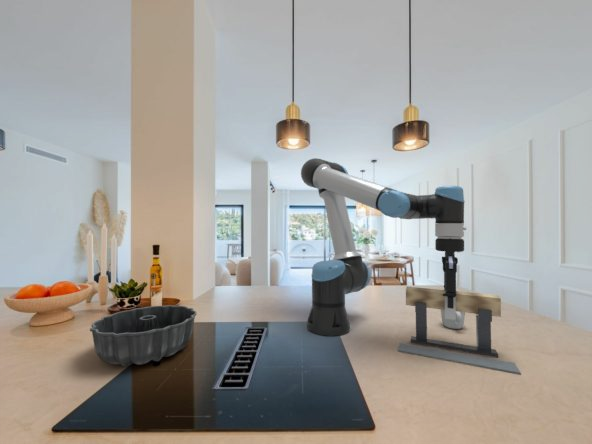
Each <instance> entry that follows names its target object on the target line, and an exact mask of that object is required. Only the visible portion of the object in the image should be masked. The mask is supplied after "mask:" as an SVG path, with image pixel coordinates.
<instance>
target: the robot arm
mask: <svg viewBox="0 0 592 444" xmlns="http://www.w3.org/2000/svg"><path fill="white" fill-rule="evenodd" d="M300 176H301V180H302V181H303V183H304V185H306V186H308V187H311V188H315V189H317V191H318V196H319V197H320V198H321V199H323V202H324V207H325V212H326V217H327V221H328V227H329V232H330V237H331V241H332V242H331V243H332V247H333V251H334V252H333V253H334V257H333V258H332V259H328V260H321V261H318V262H316V263H315V264H313V266H312V271H311V272H312V273H311V308H310V311H309V314H308V317H307V321H306V328H307V330H308V331H309V332H311V333H314V334H316V335H319V336H330V337H334V336H342V335H346V334H347V333H349V332H350V331H351V321H350V318H349V315H348V312H347V309H346V295H348V294H351V293H358V292H360V291H362V290H363V289H365V288H366V287H368V286H369V283H370V282H371V277H372V275H371V270H370V267H369V266H368V264H366V262H365V261H363V257H362V254H361V253H359V252H357V250H356V243H355V239H354V235H353V234H354V233H353V230H352V226H351V221H350V217H349V212H348V207H347V202H346V198H347V199H350V200H352V201H355V202H357V203H359V204H361V205H365V206H366V207H370V208H372V209H374V210H377V211H378V212H380V213H381V214H383V216H386V217H390V218H393V219H394V218H395V219H397V218H398V219H403V220H414V219H415V220H416V219H417V220H418V219H419V220H420V219H435V223H434V224H435V227H434V228H435V229H434V235H435V237H436V239H435V240H434V241H435V247H434V249H435V250H436V251H439V252H444V256H441V262H442V270H443V271H442V272H443V277H444V278H443V284H444V285H443V288H444V289H443V290H445V291H446V292H445V294H443V296H445V310H444V314H445V319H452V320H456V297H455V296H456V291H457V272H458V267H457V266H458V265H457V264H458V263H459V261H458V258H457V257H456V256H455V253H462V252H464V251H465V239H463V238H464V237H465V231H466V230H467V227H466V226H465V224H464V223H465V221H464V220H465V197H464V194H465V193H464V188H463V187H462V186H459V185H443V186H438V187H436V188H435V191H434V193H432V194H425V195H424V194H423V195H415V194H412V193H411V194H410V193H407V192H403V191H399V190H397V189H393V188H391V187H387V186H384V185H382V184H378V183H375V182H372V181H369V180H367V179H363V178H361V177H358V176H355V175H351V174H349V173H348V170H347V169H346V168H345V167H344V166H343V165H341V164H339V163H337V162H331V161H329V160H325V159H322V158H315V157H314V158H311V159H309V160H306V161H305V163H304V164H303V165H302V167H301V169H300Z"/></svg>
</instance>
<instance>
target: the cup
mask: <svg viewBox="0 0 592 444" xmlns="http://www.w3.org/2000/svg"><path fill="white" fill-rule="evenodd" d="M440 315H441V321H442V325H443V326H444V327H446V328H448V329H453V330H462V328H463V327H464V325H465V315H466V312H458V311H456V320H452V319H445V314H444V310H442V309H440Z"/></svg>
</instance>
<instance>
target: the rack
mask: <svg viewBox="0 0 592 444" xmlns="http://www.w3.org/2000/svg"><path fill="white" fill-rule="evenodd" d="M414 308H415V309H414V310H415V335H414V336H413V335H411V337H410V343H412V344H417V345H423V346H429V347H432V348H433V347H435V348H441V349H444V350H445V349H446V350H452V351H457V352H463V353H469V354H473V355H474V354H475V355H481V356H486V357H492V358H499V354H498V351H497V349H495V348H492V330H491V329H492V325H491V324H492V322H493V316H492V310H489V309H480V308H478V314H475V322H476V323H475V324H476V326H475V327H476V329H475V331H476V335H475V336H476V345H475V346H474V345H469V344H464V343H463V344H462V343H456V342H452V341H451V342H450V341H444V340H437V339H433V338H428V324H427V323H428V322H427V321H428V320H427V317H428V314H427V313H428V311H427V309H428V308H426V303H424V302H415V306H414Z"/></svg>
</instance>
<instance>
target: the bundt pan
mask: <svg viewBox="0 0 592 444" xmlns="http://www.w3.org/2000/svg"><path fill="white" fill-rule="evenodd" d="M197 315H198V314H197V310H194V308H192V307H188V306H185V305H172V304H169V305H168V304H167V305H153V306H145V307H137V308H132V309H129V310H123V311H122V310H121V311H118V312H115V313H112V314H110V315H107V316H106V315H105V316H102V317H101V318H100V319H98V320H95V321H94V322H92V323H91V327H90V328H89V332H91V333H92V334H91V335H92V340H93V345H94V350H95V355H96V356H97V357H98V358H99V359H100V360H102V361H104V362H106V363H108V364H110V365H121V366H122V367H129V366H131V365H133V364H134V365H137V366H139V365H140V366H141V365H145V364H147V363H149V362H151V361H154V362H156V363H158V362H160V361H161V359H163V358H168V357H170V356H173V355H175V354H176V353H177V352H179V351H180V352H181V351H182V350H183V349H184V348H186V347H187V345H188V343H189V341H190V339H191V337H192V335H193V330H194V323H195V318H196V316H197Z"/></svg>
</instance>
